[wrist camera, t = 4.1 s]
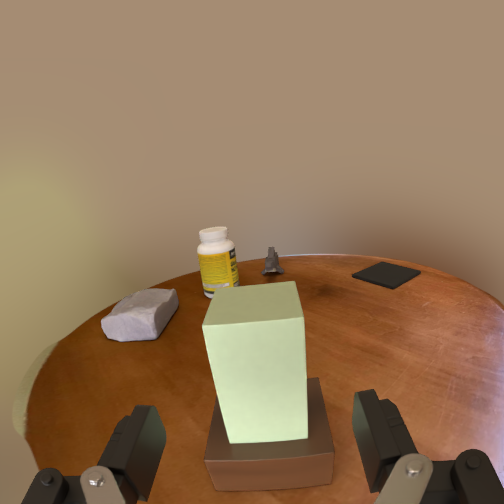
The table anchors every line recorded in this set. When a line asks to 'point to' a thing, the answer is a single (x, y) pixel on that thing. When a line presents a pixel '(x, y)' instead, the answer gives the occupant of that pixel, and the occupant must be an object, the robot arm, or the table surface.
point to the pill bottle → (217, 260)
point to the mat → (387, 274)
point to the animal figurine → (272, 262)
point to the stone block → (141, 315)
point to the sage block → (259, 361)
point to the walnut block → (273, 454)
